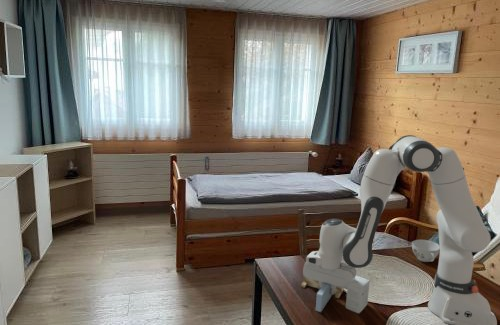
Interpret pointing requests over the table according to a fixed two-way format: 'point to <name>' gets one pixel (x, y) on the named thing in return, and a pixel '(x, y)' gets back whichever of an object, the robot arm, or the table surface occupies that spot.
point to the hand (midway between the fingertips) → (327, 292)
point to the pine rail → (315, 284)
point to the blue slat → (323, 297)
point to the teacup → (425, 250)
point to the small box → (357, 294)
